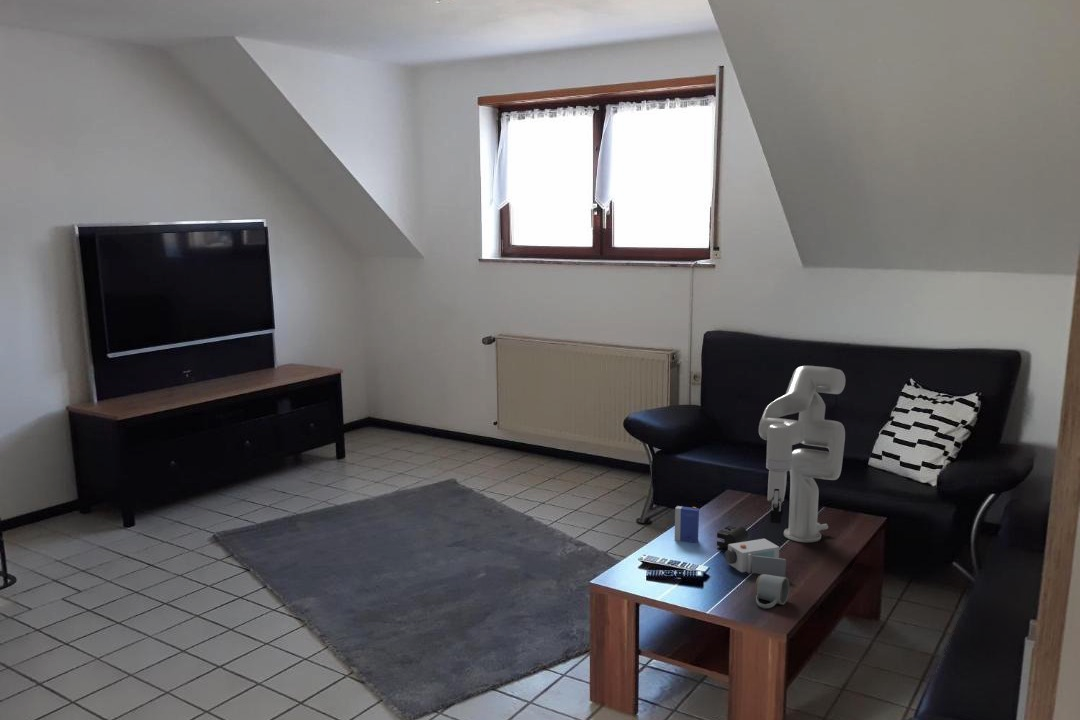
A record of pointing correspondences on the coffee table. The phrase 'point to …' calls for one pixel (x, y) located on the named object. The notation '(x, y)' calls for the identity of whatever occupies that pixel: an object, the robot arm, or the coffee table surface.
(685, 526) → the walkman
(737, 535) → the power tool battery
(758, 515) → the coffee table surface
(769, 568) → the side door
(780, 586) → the ceramic mug
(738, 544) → the camera body
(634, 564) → the coffee table surface
